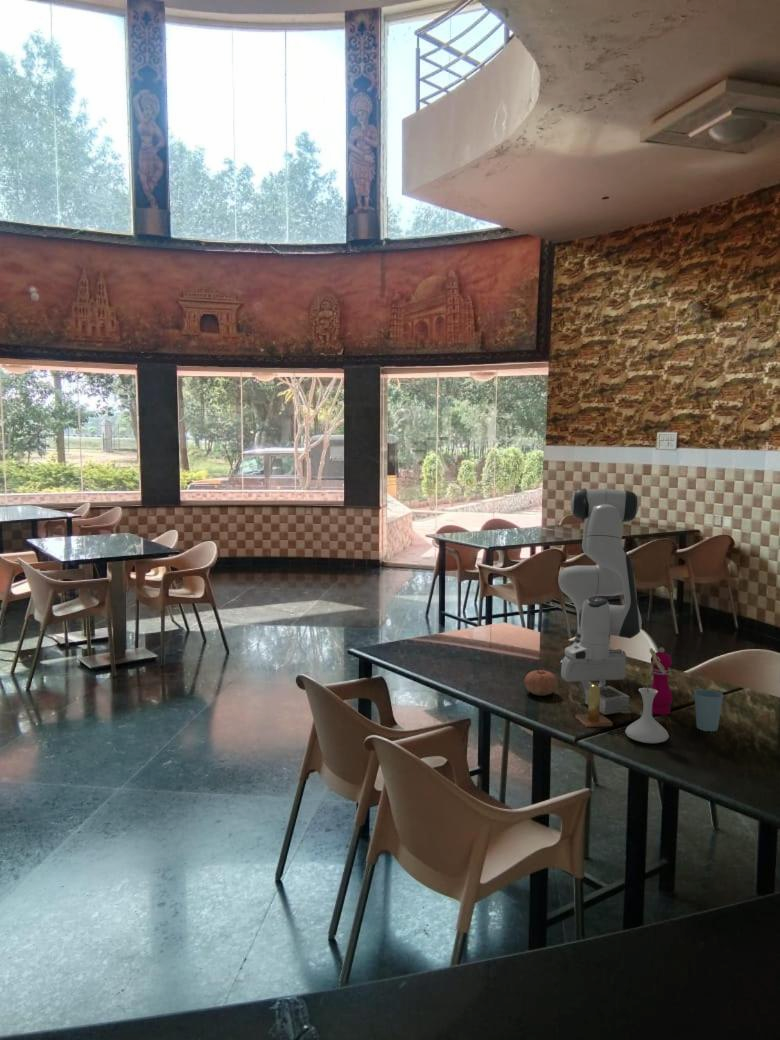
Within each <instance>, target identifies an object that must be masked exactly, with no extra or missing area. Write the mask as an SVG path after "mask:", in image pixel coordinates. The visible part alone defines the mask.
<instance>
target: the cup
mask: <svg viewBox="0 0 780 1040" xmlns="http://www.w3.org/2000/svg"><path fill="white" fill-rule="evenodd" d="M693 696H694V705H695V707H694V709H695V721H696V728H697V729H698V730H699V729H700V731H702V730H703V731H702V732H707V731H711V732H710V733H715V732H717V731H718V729H719V724H720V723H719V722H720V717H721V711H722V706H723V705H722V703H723V701H724V700H723V699H724V698H723V697H724V693H722V692H721V691H717V690H713V689H707V688H706V689H704V688H702V689H695V690H694V691H693ZM712 731H713V732H712ZM714 731H715V732H714Z"/></svg>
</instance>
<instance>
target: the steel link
mask: <svg viewBox="0 0 780 1040" xmlns="http://www.w3.org/2000/svg"><path fill="white" fill-rule="evenodd" d="M591 685H596V684H595V683H593V682H591V681H588V684H587V686H588V687H590V686H591ZM599 688H600V713H601V714H602V715H604V716H605V715H611V714H615V713H616V714H617V713H621V712H627V711H629V706H630V696H629V695H628V694H626V693H624V692H622V691H620V690H618V689H616V688H615V687H613V686H611V685H604V687H599ZM578 693H580V694H581V695H582V696H585V697H584V698H585V701H584V703H585V704H586V705H587V706H588V703H589V689H586V694H585V688H584V686H583V684H582V682H581V681H578Z"/></svg>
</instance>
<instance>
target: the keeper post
mask: <svg viewBox="0 0 780 1040" xmlns="http://www.w3.org/2000/svg"><path fill="white" fill-rule="evenodd" d="M587 706H588V711H587V713H584V714H583V713H581V714H574V715H575V716H574V717H575V718H574V719H576V720H577V719H578V720H579V721H578V720H577V721H578V722H580V723H581V724H582V725H583V726H584V725H585V726H584V727H586V728H596V727H612V726H613V724H614V723H613V722H614V721H613V722H612V721H611V720H610V719H609V718H608V717H606V716H605V715H604V714H602V713H601V712H600V688H599V686H598V685H597V684H595V685H591V686H590V687H589V703H588V705H587Z"/></svg>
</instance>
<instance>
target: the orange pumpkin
mask: <svg viewBox="0 0 780 1040" xmlns="http://www.w3.org/2000/svg"><path fill="white" fill-rule="evenodd" d="M523 682H524V687H525V688H526V690H527V691H528V692H529V693H530V694H533V695H535V696H539V697H541V696H542V697H543V696H544V697H545V696H548V695H551V694H553V693H554V692H556V690H557V689H558V686H559V685H558V684H559V683H558V682H559V681H558V678H557V677H556V675H555V674H554V673H553V672H551V671H548V670H543V669H538V670H537V669H536V670H532V671H530V672H528V673H527V674H526V675H525V677H524V680H523Z"/></svg>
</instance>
